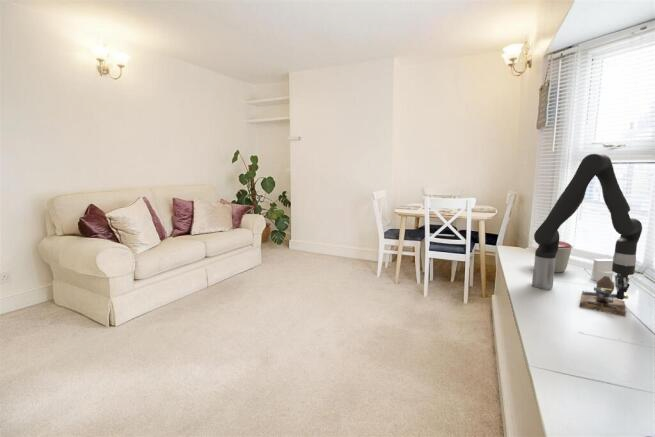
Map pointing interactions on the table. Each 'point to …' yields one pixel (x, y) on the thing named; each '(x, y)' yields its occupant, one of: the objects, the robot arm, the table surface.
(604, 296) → the capstan
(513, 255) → the table surface
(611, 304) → the stand
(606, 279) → the vase
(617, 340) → the table surface
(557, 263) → the canister
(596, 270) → the base with upright slab
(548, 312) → the table surface
